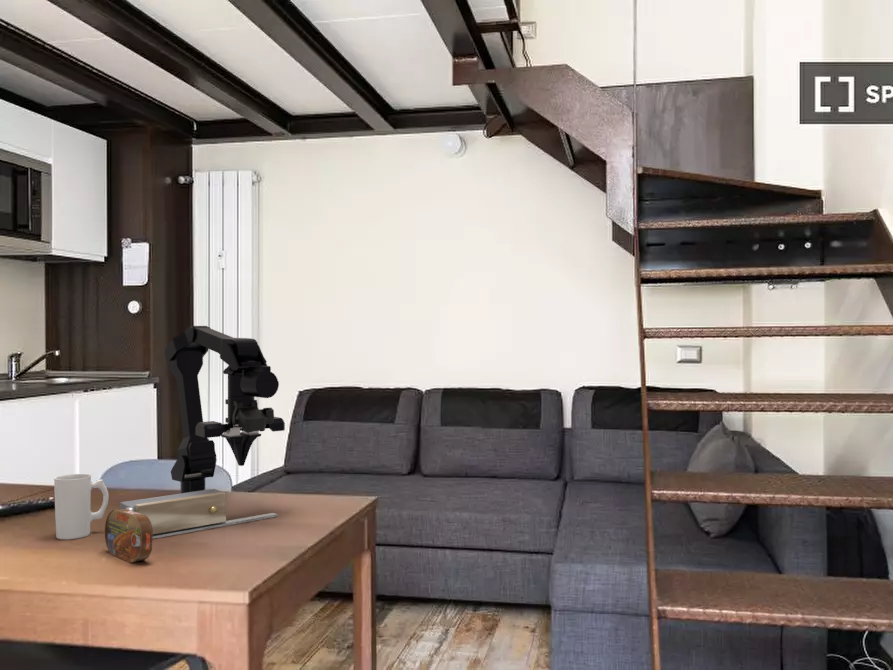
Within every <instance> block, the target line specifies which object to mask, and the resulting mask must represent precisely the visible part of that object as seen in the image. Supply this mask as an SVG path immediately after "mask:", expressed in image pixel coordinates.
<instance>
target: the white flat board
mask: <svg viewBox="0 0 893 670" xmlns="http://www.w3.org/2000/svg"><path fill="white" fill-rule="evenodd" d="M126 509H127V510H130V511H134V512H135V507H127V508H126ZM270 518H271V519H272V518H278V514H277V513H274V512H270V513H264V514H260V515H259V514H257V515H253V516H246V517H240V518H235V519H230V520H226V522H220V523H215V524H209V525H203V526H198V527H192V528H186V529H181V530H175V531H169V532H164V533H158V534H153V540H154V539H160V538H164V537H165V538H166V537H171V536H177V535H182V534H186V533H187V534H188V533H194V532H198V531H205V530H210V529H211V530H212V529H216V528H220V527H227V526H232V525H239V524H244V523H248V522H254V521H259V520H260V521H261V520H266V519H270Z"/></svg>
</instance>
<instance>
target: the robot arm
mask: <svg viewBox="0 0 893 670" xmlns="http://www.w3.org/2000/svg"><path fill="white" fill-rule="evenodd" d="M209 350H211V351H213V352H215V353H218V354H219V358H220V359H221V361H223V362H224V363H225V364H226V365H227V367H225V369H223V371H222V372H223V374H224V375H227V398H226V399H225V400H224V401H225V405H227V417H225V423H222V422H219V421H215V420H211V421H204V419H203V418H204V417H203V411H202V401H201V394H200V385H199V376H198V375H199V373H200V372H201V369H202V367H203V365H204V357H205V355H206V354H207V353H209ZM164 358H165V360H166V365H167V369H168V370H169V372H170V373H171V374H172V375H173V376H174V378H175V379H176V386H177V393H178V395H177V396H178V403H179V411H180V412H179V413H180V421H181V427H182V428H181V430H182V440H181V442H180V444H179V447H178V448H177V459H176V460H175V462H174V464H173V466H172V468H171V470H170V476H171V480H172V481H176V482H180V485H179V486H180V494H181V493H188V492H195V491H202V490H207V489H206V479H207V478H214V475H215V472H216V465H217V461H218V459H217V454H216V448H215V441H214V440H213V439H211V440H210V439H209V438H216V437H217V438H218V437H219V438H220V437H221V438H225V440H226V442H227V443H228V445H229V447H230V450H231V451H232V453H233V455H234V458H235V460H236V462H237V466H240V467H243V466H244V465H245V463H246V462H247V461H246V460H247V457H248V455H249V452H250V449H251V447H252V444H253V443H254V441H255V440H256V439H257V438H258V437H259V438H260V437H261V436H262V433H259V432H264V431H266V429H268V430H270V431H271V432H281V431H282V432H283V431H286V428H285V424H286V423H285V421H284V419H283V418H282V417H279V416H275V412H274V411H275V410H274V409H273V408H272V407H263V408H261V409H259V407H258V406H259V405H258V400H257V399H255V398H260V399H261V398H264V399H270V398H272V397H274V396H275V394H277V392H278V390H279V385H280V383H279V380H278V377H277V376H276V375H275V374H276V373H273V372H272V371H271V370H272V369H271V368H272V367H271V366H270V365H268V364H267V359H266V358H265V356H264V355H263V352H262V350H261V347H260V345H259V344H258V341H257V340H256V339H255V338H249V337H233V336H231V335H228V334H225V333H223V332H220V331H218V330H216V329H213V328H211V327H210V326H207V325H191V326H188V327H186V329H185V331H184V332H182V333H180V334H179V335H177V336H175V337H173V338H172V339H171V340H170V341H169V343H168V344H167V345H166V347H165V349H164Z"/></svg>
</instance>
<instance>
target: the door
mask: <svg viewBox="0 0 893 670" xmlns="http://www.w3.org/2000/svg"><path fill="white" fill-rule="evenodd" d="M224 492H225V491H222V492H217V493H211V494H204V495H197V496H191V497H184V498H177V499H170V500H164V501H157V502H150V503H143V504H137V505H135V506H136V512H137V513H140V514H144V515H146V516H147V517H148V518H149V520H150V521H151V524H152V528H153V534H158V533H164V532H169V531H175V530H181V529H186V528H192V527H198V526H203V525H209V524H215V523H220V522H226V521H227V502H226V500H227V498H226V497H227V496H226V495H227V494H226V492H225V493H224Z"/></svg>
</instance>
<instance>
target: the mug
mask: <svg viewBox="0 0 893 670" xmlns="http://www.w3.org/2000/svg"><path fill="white" fill-rule="evenodd" d="M53 480H54V485H53V486H54V487H53V488H54V490H53V491H54V514H55V516H54V517H55V538H57V539H58V540H64V541H65V540H66V541H67V540H75V539H82V538H85V537H88V536H90V535H91V523H92V522H93V521H94V520H101V519H102V518H103V517H104V515H105V512H106V509H107V507H108V505H109V500H110V499H109V497H110V496H109V495H110V494H109V491H108V488H107V487H106V485H105V483H104V481H103V478H102V479H98V480H95V481H94V482H93V481H92V474H88V473H74V474H73V473H72V474H64V475H63V474H62V475H59V476H56V477H53ZM95 488H96V489H99V490H100V491H101V493H102V496H103V497H102V498H103V499H102V504H101V506H100V508H99V509H98V510H97V511H94V512H93V511H92V509H91V506H92V505H91V502H92V501H91V495H92V493H91V492H92V490H93V489H95Z"/></svg>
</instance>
